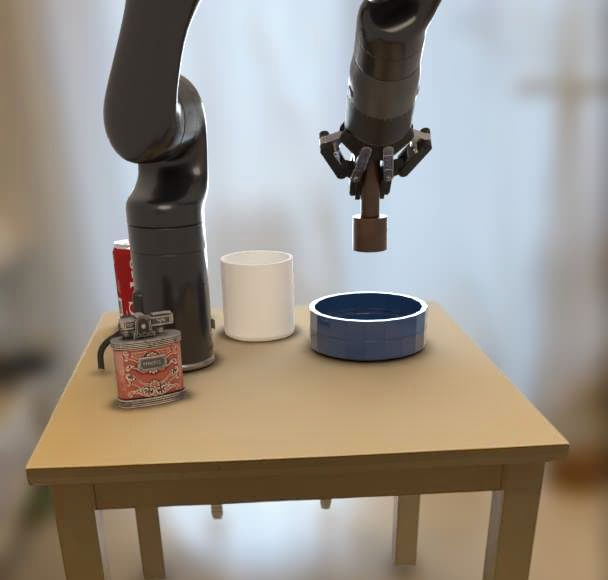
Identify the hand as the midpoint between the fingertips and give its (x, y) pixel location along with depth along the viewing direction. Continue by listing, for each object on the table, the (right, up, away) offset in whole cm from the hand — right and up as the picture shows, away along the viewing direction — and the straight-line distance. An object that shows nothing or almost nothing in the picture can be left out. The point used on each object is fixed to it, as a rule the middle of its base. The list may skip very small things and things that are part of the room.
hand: (368, 193), depth 112 cm
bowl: (0, -18, +7) cm, 19 cm away
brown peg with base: (0, -7, +1) cm, 7 cm away
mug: (-15, -14, +16) cm, 26 cm away
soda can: (-32, -12, +19) cm, 39 cm away
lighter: (-26, -28, -9) cm, 39 cm away
